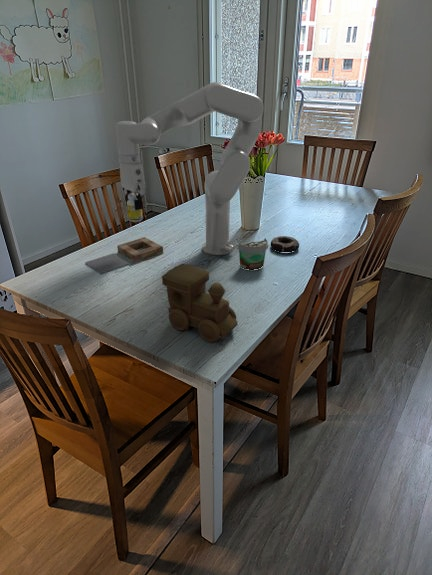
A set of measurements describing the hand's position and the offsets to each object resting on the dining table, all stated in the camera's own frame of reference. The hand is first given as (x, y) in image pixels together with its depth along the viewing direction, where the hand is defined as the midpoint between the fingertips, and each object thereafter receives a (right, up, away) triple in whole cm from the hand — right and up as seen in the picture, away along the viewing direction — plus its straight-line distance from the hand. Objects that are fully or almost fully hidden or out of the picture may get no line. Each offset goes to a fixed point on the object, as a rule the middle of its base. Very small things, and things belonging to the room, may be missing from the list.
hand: (134, 206), depth 157 cm
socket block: (+1, -17, +10) cm, 19 cm away
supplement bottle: (0, -5, +3) cm, 5 cm away
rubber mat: (-11, -22, +1) cm, 24 cm away
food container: (+46, -23, -1) cm, 51 cm away
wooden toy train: (+27, -42, -34) cm, 61 cm away
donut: (+59, -15, +14) cm, 63 cm away
